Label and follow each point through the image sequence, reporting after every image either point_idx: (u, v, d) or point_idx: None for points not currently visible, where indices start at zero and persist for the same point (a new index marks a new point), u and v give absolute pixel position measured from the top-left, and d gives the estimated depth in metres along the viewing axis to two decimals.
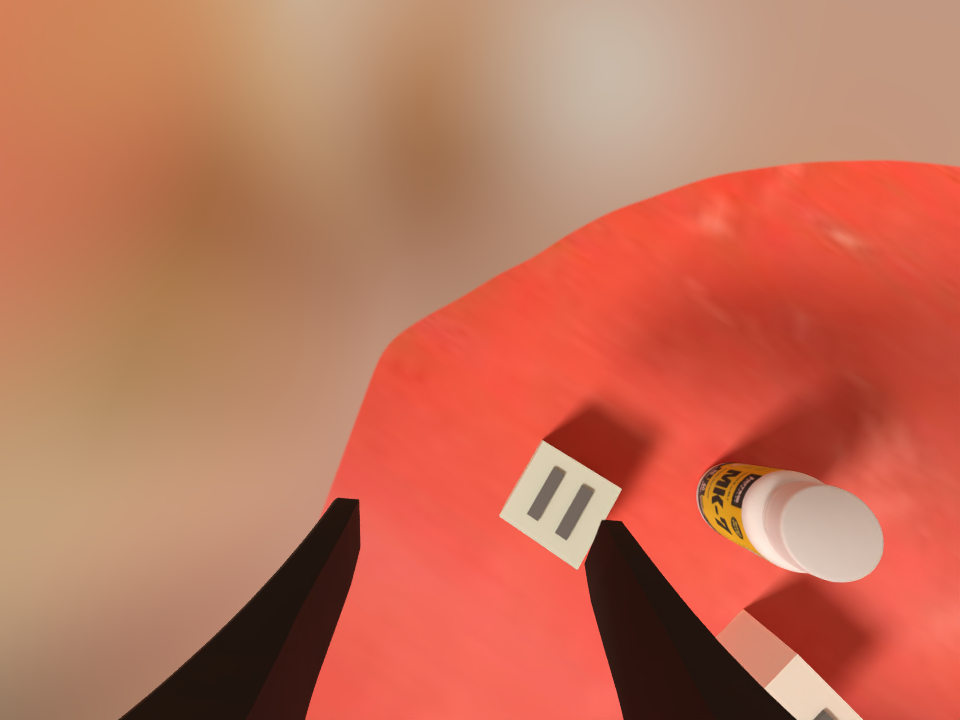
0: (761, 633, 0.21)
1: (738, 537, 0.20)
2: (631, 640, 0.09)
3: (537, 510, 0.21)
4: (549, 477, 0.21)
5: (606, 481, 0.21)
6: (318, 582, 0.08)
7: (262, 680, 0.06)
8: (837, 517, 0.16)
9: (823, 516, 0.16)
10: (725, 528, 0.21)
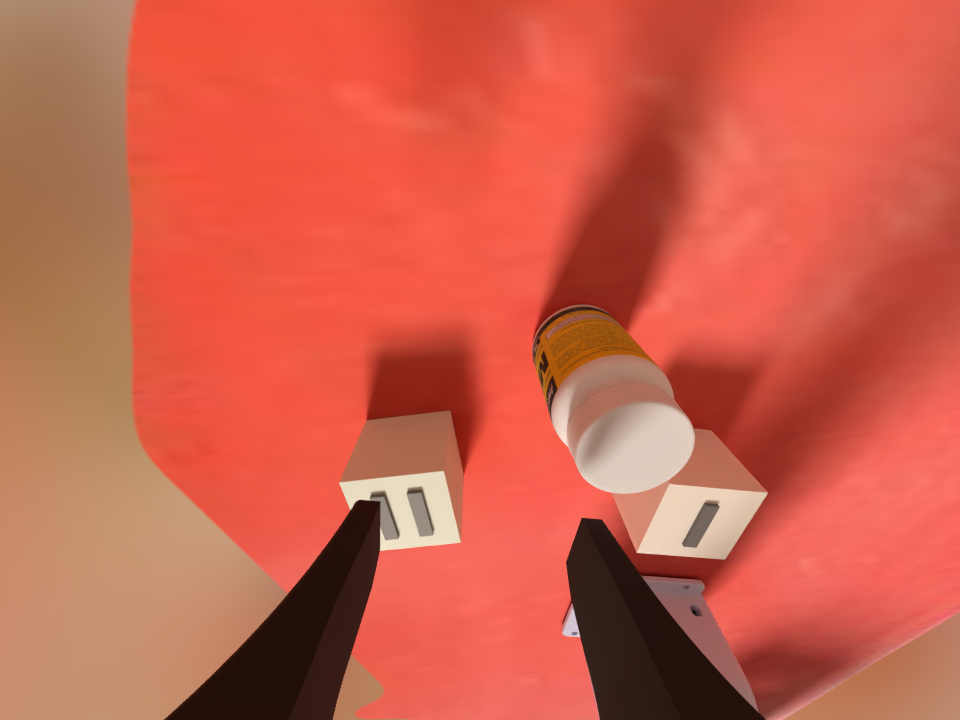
0: None
1: None
2: (607, 639, 0.09)
3: (390, 533, 0.19)
4: None
5: (425, 475, 0.17)
6: (346, 584, 0.08)
7: (299, 682, 0.06)
8: (634, 434, 0.12)
9: (618, 443, 0.12)
10: None
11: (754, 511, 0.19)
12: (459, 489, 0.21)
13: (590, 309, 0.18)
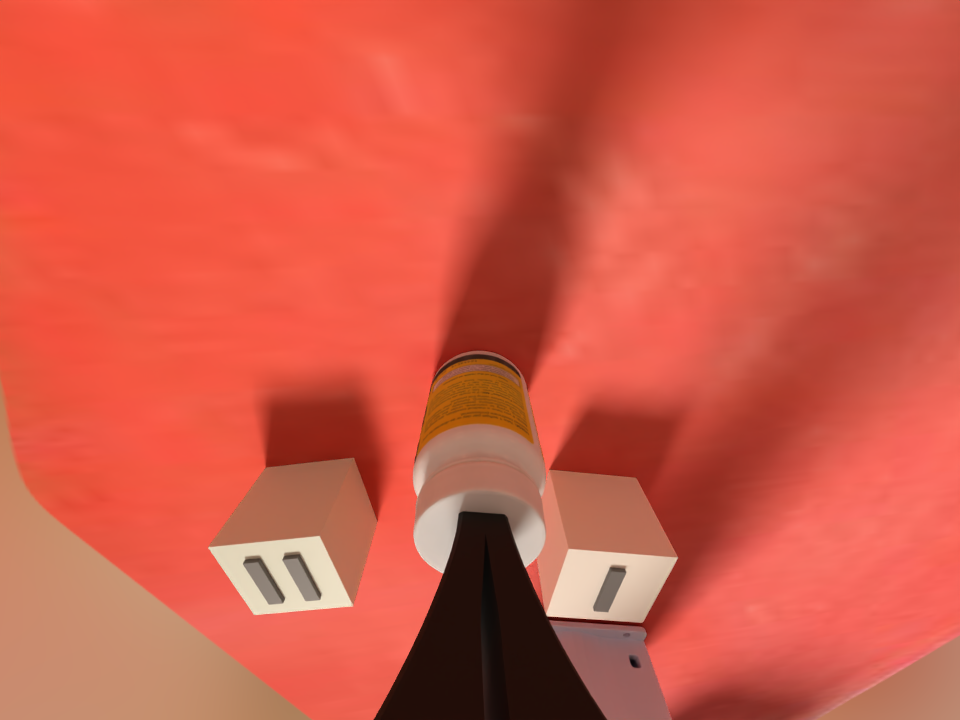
0: (555, 508, 0.19)
1: None
2: (486, 631, 0.09)
3: (273, 597, 0.17)
4: (250, 571, 0.17)
5: (299, 540, 0.16)
6: None
7: (477, 691, 0.06)
8: None
9: None
10: None
11: (666, 575, 0.17)
12: (361, 543, 0.20)
13: (484, 357, 0.17)
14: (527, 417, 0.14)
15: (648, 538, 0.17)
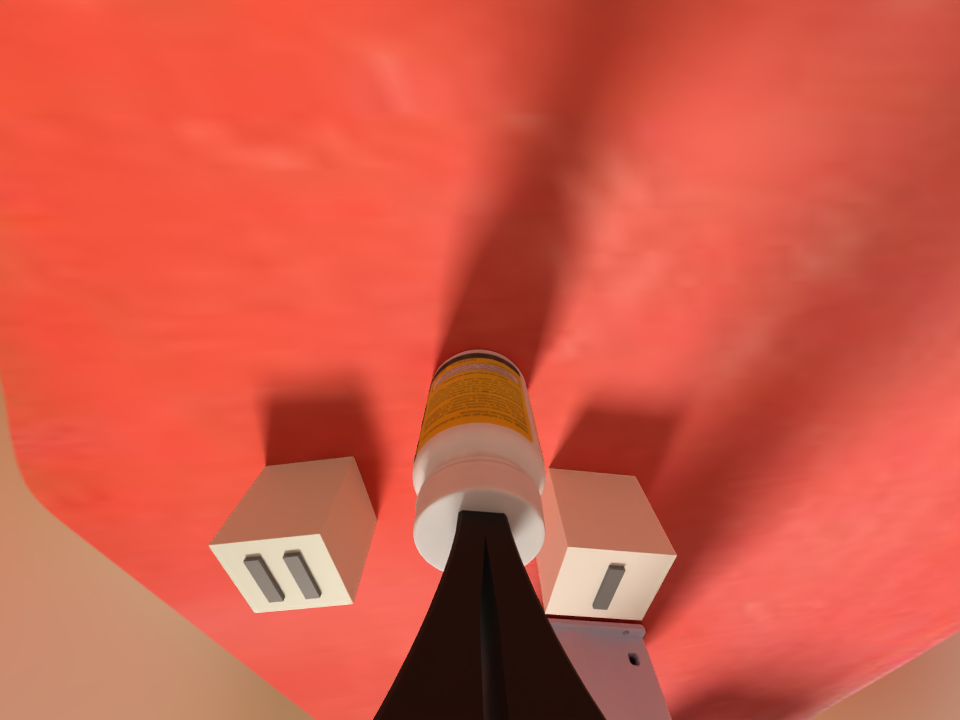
0: (555, 506, 0.19)
1: None
2: (486, 631, 0.09)
3: (273, 596, 0.18)
4: (250, 569, 0.17)
5: (299, 538, 0.16)
6: None
7: (477, 691, 0.06)
8: None
9: None
10: None
11: (665, 573, 0.17)
12: (361, 541, 0.20)
13: (483, 356, 0.17)
14: (526, 416, 0.14)
15: (647, 536, 0.17)
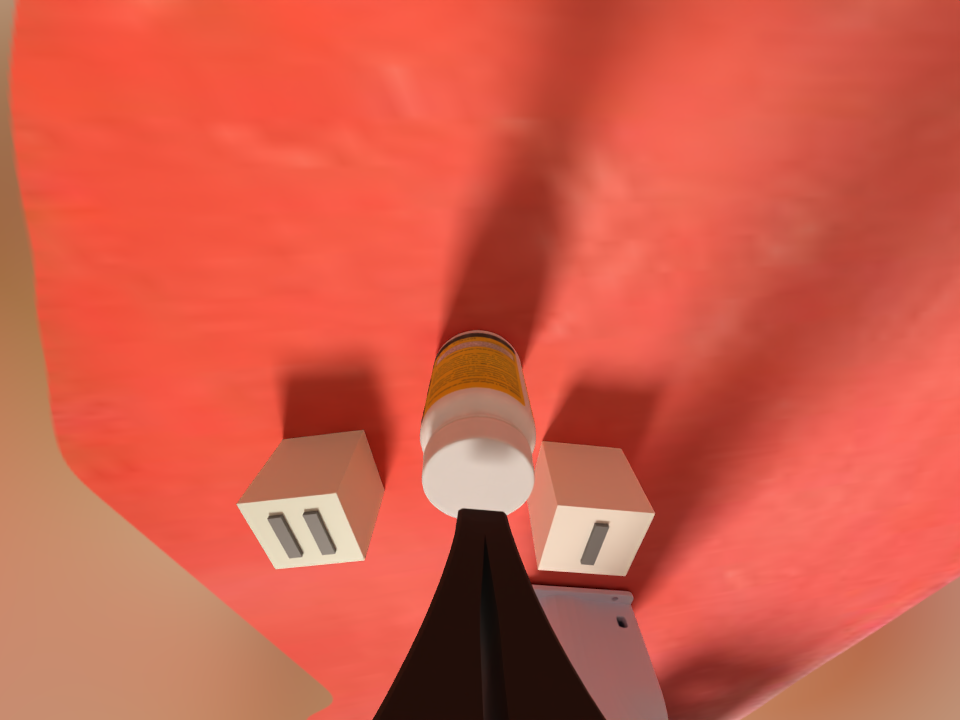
0: (547, 473, 0.21)
1: None
2: (486, 631, 0.09)
3: (293, 552, 0.19)
4: (273, 526, 0.19)
5: (318, 497, 0.18)
6: None
7: (477, 691, 0.06)
8: (473, 467, 0.13)
9: (460, 475, 0.13)
10: None
11: (645, 530, 0.19)
12: (371, 507, 0.22)
13: (482, 335, 0.19)
14: (520, 385, 0.16)
15: (629, 497, 0.19)
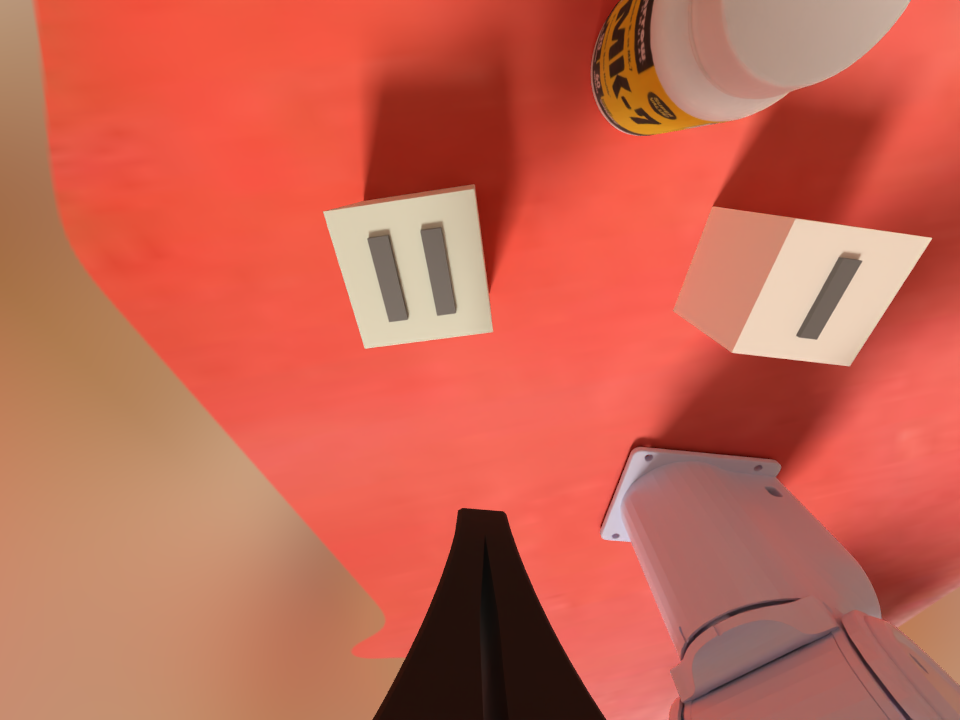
0: (742, 221, 0.15)
1: (669, 120, 0.12)
2: (486, 631, 0.09)
3: (396, 309, 0.14)
4: (374, 256, 0.13)
5: (446, 196, 0.12)
6: None
7: (477, 691, 0.06)
8: None
9: None
10: (649, 121, 0.13)
11: (906, 275, 0.13)
12: (487, 285, 0.16)
13: None
14: None
15: (880, 230, 0.14)
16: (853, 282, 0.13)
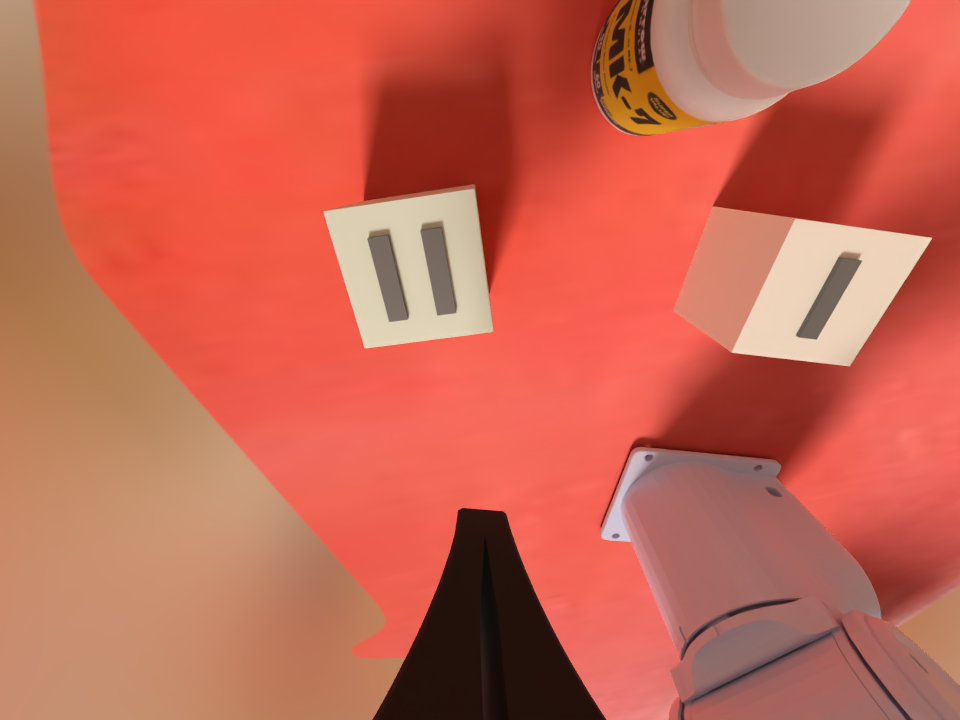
0: (742, 221, 0.15)
1: (670, 120, 0.12)
2: (486, 631, 0.09)
3: (396, 308, 0.14)
4: (374, 256, 0.13)
5: (447, 196, 0.12)
6: None
7: (477, 691, 0.06)
8: None
9: None
10: (649, 121, 0.13)
11: (906, 275, 0.13)
12: (487, 284, 0.16)
13: None
14: None
15: None
16: (853, 282, 0.13)
